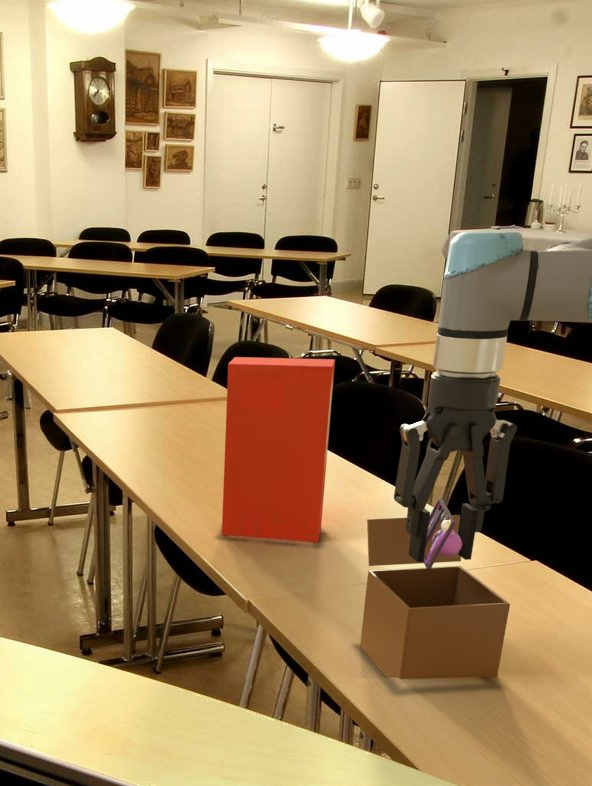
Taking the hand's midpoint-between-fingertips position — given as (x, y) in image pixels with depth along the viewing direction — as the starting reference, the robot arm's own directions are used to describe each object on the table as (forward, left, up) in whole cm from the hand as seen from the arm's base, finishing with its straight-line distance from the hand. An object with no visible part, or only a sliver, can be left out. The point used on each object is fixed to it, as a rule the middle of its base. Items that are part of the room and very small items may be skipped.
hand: (439, 556), depth 115 cm
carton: (0, 0, -16) cm, 16 cm away
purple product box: (0, 0, 0) cm, 0 cm away
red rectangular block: (+5, -53, -16) cm, 55 cm away
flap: (0, -7, 0) cm, 7 cm away
